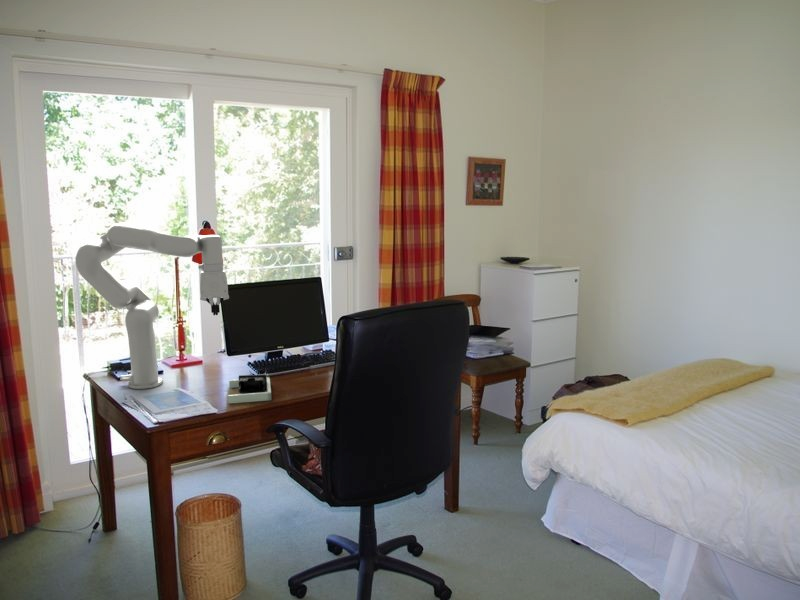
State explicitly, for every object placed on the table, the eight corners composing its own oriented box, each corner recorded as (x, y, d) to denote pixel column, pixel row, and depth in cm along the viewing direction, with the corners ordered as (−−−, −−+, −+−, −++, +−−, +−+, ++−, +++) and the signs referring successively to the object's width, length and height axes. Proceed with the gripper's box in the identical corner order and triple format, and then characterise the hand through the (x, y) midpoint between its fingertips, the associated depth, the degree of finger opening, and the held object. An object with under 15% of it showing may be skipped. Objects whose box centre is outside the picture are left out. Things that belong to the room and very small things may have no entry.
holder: (228, 403, 234) (227, 396, 233) (229, 386, 252) (229, 380, 251) (271, 400, 237) (271, 392, 237) (269, 383, 255) (269, 377, 254)
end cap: (267, 389, 249) (266, 372, 248) (265, 395, 242) (264, 378, 241) (240, 390, 248) (239, 373, 247) (238, 396, 241) (237, 379, 240)
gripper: (191, 269, 244) (194, 317, 248) (232, 268, 247) (235, 315, 251) (193, 266, 251) (196, 313, 255) (233, 265, 254) (235, 311, 258)
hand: (215, 314), depth 253 cm, fingers closed
